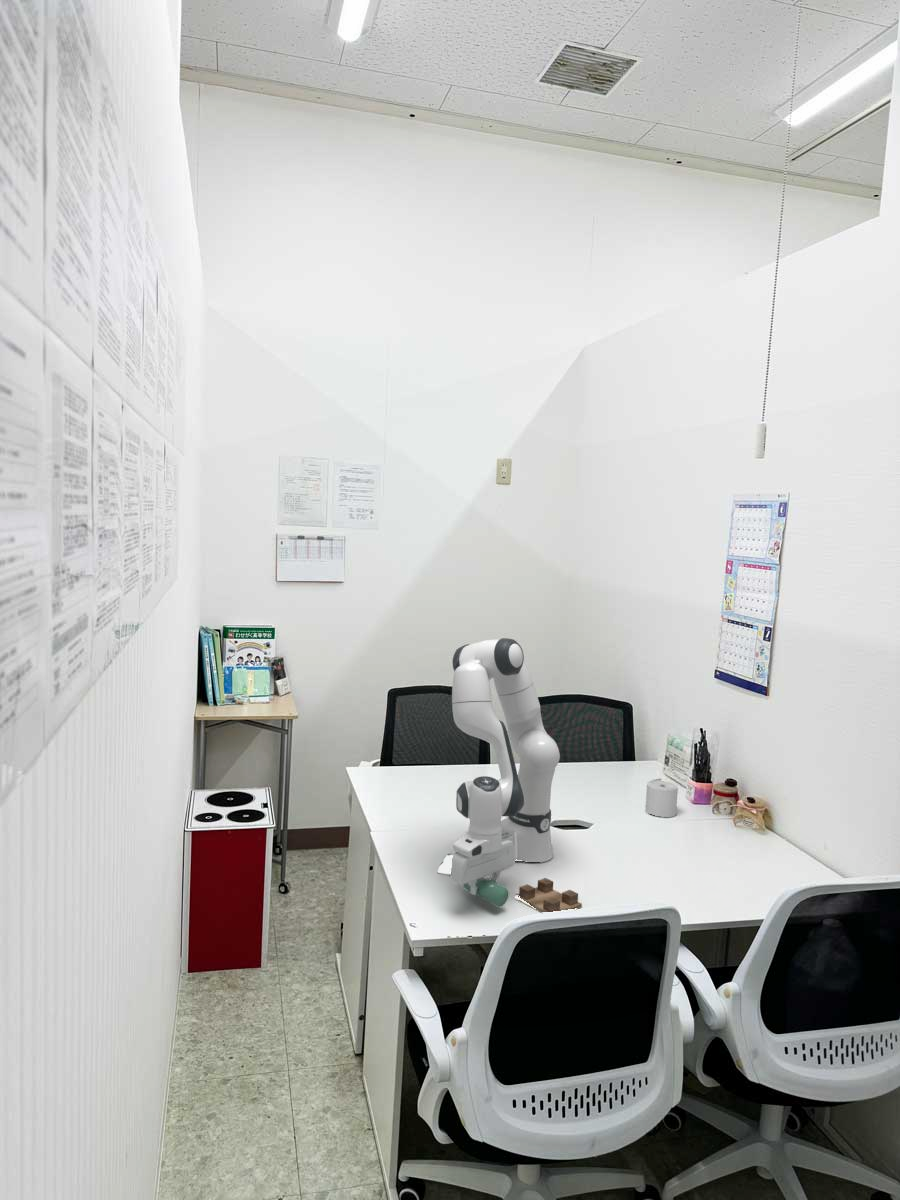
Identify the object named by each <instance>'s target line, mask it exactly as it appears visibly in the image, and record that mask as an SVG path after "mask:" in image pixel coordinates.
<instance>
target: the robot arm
mask: <svg viewBox="0 0 900 1200" xmlns="http://www.w3.org/2000/svg"><path fill="white" fill-rule="evenodd" d="M524 660H525V659H524V649H522V647H521V645H520V644H519V643H518V642H517V640H515V639H512V638H507V637H502V638H500V639H499V638H498V639H493V638H492V639H484V640H482V641H478V642H473V643H470V644H469V643H468V644H465V645H462V646H460V647H458V648H457V649H456V650H455V652H454V654H453V656H452V662H451V663H452V668H453V672H454V673H453V678H452V687H451V688H452V689H451V703H452V705H451V708H452V709H451V710H452V715H453V716H452V717H453V721H454V724H455V726H456V727H457V728H458V729H460V730H461V732H463V733H465V734H467V735H469V736H470V737H474V738H476V739H479V740H482V741H485V742H487V743H489V745H491V746H492V748H493V749H494V752H495V756H496V759H497V765H498V769H499V774H500V779H496V778H495V777H491V776H486V775H485V776H484V775H483V776H482V775H481V776H478V777H476V778H474V779H473V780H472V781H471V780H469V781H464V782H463V783H461V784H460V785H459V786H458V788H457V789H456V799H455V800H456V804H455V805H456V806H455V807H456V810H457V812H458V813H459V814H461V815H462V816H463V817H464V818H465V819H469V824H468V831H466V832H465V833H464V834H463V835H462V836H461V837H460V838H459V839H457V840H456V841H455V842H454V843H453V845H452V849H453V851H455V852H454V853H453V854H452V855H453V858H452V868H451V875H450V876H451V879H452V880H453V881H454V882H455V883H456V884H459V885H461V886H462V885H463V886H464V884H466V883H468V884H469V885H470V887H471V892H470V894H471V895H473V896H477V895H476V894H479V887H476V885H475V883H476V882H477V879H479V878H482V877H485V878H486V877H487V876H489V875H491V876H490V879H489V880H491V881H493V882H495V883H497V881H498V880H499V878H500V876H501V871H504V870H506V869H509V868H511V867H513V866H514V865H515V863H516V862H515V860H516V859H517V860H522V861H527V862H540V863H545V862H548V861H550V860H551V859H553V856H554V853H553V852H554V851H553V844H552V838H551V837H552V836H551V822H552V810H551V796H552V795H551V793H552V792H551V791H552V783H553V780H554V779H553V778H554V775H555V771H556V767H557V766H558V764H559V762H560V759H561V755H560V750H559V747H558V744H557V742H556V741H555V740H554V738H552V737H551V736H550V735H549V734H548V733H547V731H546V729H545V726H544V724H543V719H542V713H541V712H542V711H541V704H540V701H539V700H540V699H539V697H538V695H537V691H536V688H535V685H534V682H533V680H532V677H531V676H532V675H531V673H530V672H529V671H530V670H529V669H528V667H527V665H526V663H525V661H524ZM491 679H493V683H494V686H495V690H496V692H497V693H496V694H497V696H498V700H499V702H500V705H501V708H502V711H503V714H504V718H505V721H506V725H505V723H504V722H503V721H502V720H500V719H498V716H497V715H496V714H495V711H494V708H493V702H492V701H493V699H492V690H491V684H490V680H491ZM512 749H513V750H512ZM513 751H514V753H515V754H516V756H517V757H518V758H519V769H518V770H517V767H516V763H515V758H514V753H513ZM502 817H506V818H505V819H502ZM497 884H498V883H497Z"/></svg>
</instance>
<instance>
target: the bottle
mask: <svg viewBox="0 0 900 1200" xmlns="http://www.w3.org/2000/svg"><path fill="white" fill-rule="evenodd" d="M475 885H476V887H479V894H476V895H475V896H477V897H479V898H481V899H483V900H485V901H487V902H489V903H490V904H492V905H495V906H496V907H498V908H499V907H503V906H505V904H506V903H507V901H508V899H509V894H510V893H509V890H508V889H507V887H505V886H503V885H501V884H499V883H495V882H493V881H491V880H490V879H489V878H487V877H486V876H485V877H482V878H479V879H477V882H476V883H475ZM463 888H464V889H465V890H466V891H468V892H470V893H471V887H470V885H469V884H468V883H466V884H463Z"/></svg>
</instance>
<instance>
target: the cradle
mask: <svg viewBox="0 0 900 1200" xmlns="http://www.w3.org/2000/svg"><path fill="white" fill-rule="evenodd" d="M518 891H519V892H518V894H519V896H520V898H521V899H523V900H524V901H526V902H527V903H529V904H530V905H531V906H533V907H534V908H536V910H535V911H537V910H538V913H539V912H540V913H541V912H553V911H561V910H568V909H575V908H579V909H581V908H582V907H583V904H582V903H581V902H579V893H577V891H576V892H575V891H573V890H572V889H567V890H565V891H562V892H559V891H557V890H556V889H554V881H553V880H551V879H549V878H546V877H544V878H541V879H538V880H537V886H536V887H534V886H532V885H529V884H524V885H521V886H519V888H518ZM519 896H518V897H519Z"/></svg>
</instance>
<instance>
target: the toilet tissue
mask: <svg viewBox="0 0 900 1200" xmlns="http://www.w3.org/2000/svg"><path fill="white" fill-rule="evenodd" d="M678 786H679V785H677V784H675V783H673V782H670V781H665V780H662V778H657V779H652V780H650V781H648V782H647V783H646V793H645V794H646V795H645V812H646V813H647V812H648V813H649V814H648V813H647V814H648V815H650V814H652V815H655V816H654V817H656V816H661V817H660V818H664V817H668V818H674V817H676V816H675V815H677V810H678V809H677V808H678V807H677V806H678V792H679V787H678ZM652 815H651V816H652ZM673 816H674V817H673Z"/></svg>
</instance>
